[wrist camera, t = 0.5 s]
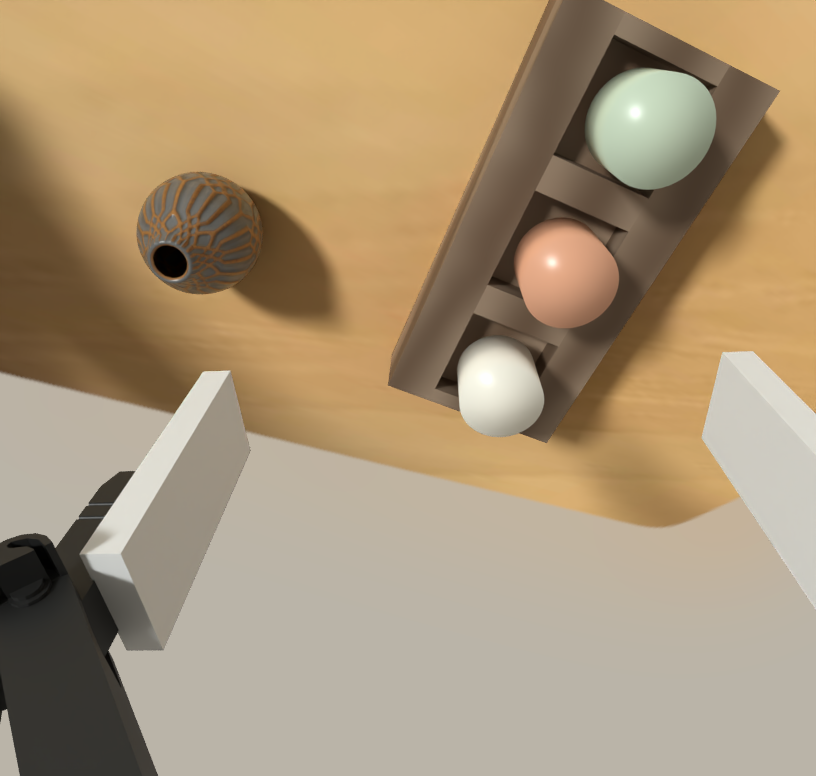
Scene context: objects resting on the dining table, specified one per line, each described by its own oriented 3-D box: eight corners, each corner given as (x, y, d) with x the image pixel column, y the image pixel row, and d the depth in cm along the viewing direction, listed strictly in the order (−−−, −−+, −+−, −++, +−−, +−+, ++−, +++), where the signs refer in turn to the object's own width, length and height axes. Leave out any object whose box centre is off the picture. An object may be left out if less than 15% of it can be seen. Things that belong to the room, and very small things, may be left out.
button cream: (444, 386, 39) (445, 420, 36) (477, 323, 37) (481, 353, 33) (512, 411, 40) (519, 447, 36) (548, 351, 37) (559, 383, 34)
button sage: (566, 150, 31) (583, 164, 28) (618, 49, 29) (643, 52, 25) (647, 187, 32) (673, 206, 29) (704, 92, 30) (740, 100, 26)
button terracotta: (498, 281, 35) (506, 308, 32) (539, 203, 33) (551, 223, 29) (572, 311, 36) (587, 341, 33) (617, 237, 34) (638, 260, 30)
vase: (294, 238, 39) (261, 287, 31) (213, 285, 41) (164, 342, 33) (228, 140, 36) (175, 169, 28) (145, 197, 38) (74, 237, 30)
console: (392, 354, 43) (388, 385, 39) (554, -11, 31) (570, -17, 28) (537, 408, 45) (546, 442, 41) (740, 84, 33) (780, 91, 30)
